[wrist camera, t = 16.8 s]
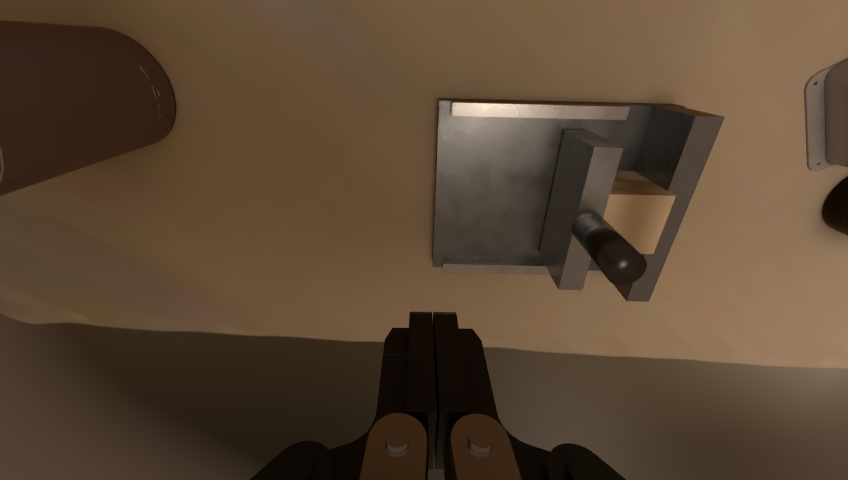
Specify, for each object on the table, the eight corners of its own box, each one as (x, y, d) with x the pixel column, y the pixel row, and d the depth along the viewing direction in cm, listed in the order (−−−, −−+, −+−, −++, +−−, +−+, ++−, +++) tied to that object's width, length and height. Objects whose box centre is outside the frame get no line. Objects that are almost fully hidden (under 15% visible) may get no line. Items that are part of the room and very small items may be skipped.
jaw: (536, 253, 35) (583, 341, 25) (561, 129, 29) (637, 174, 19) (560, 253, 35) (618, 341, 25) (590, 130, 29) (682, 176, 19)
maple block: (565, 220, 34) (591, 252, 28) (577, 169, 31) (608, 194, 26) (617, 221, 34) (653, 254, 28) (633, 170, 31) (675, 195, 26)
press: (432, 259, 37) (433, 296, 32) (438, 98, 30) (441, 110, 24) (619, 263, 38) (654, 301, 32) (673, 104, 30) (731, 117, 24)
